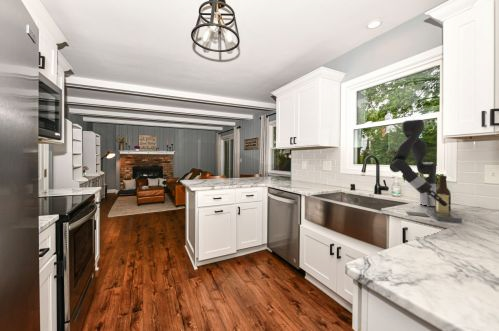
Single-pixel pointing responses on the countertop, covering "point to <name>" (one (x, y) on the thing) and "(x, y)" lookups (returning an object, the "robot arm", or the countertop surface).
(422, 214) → the rubber mat
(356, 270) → the countertop surface
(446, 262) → the countertop surface
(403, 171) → the robot arm
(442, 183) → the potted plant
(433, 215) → the grey slotted plate
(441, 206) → the wooden square peg
